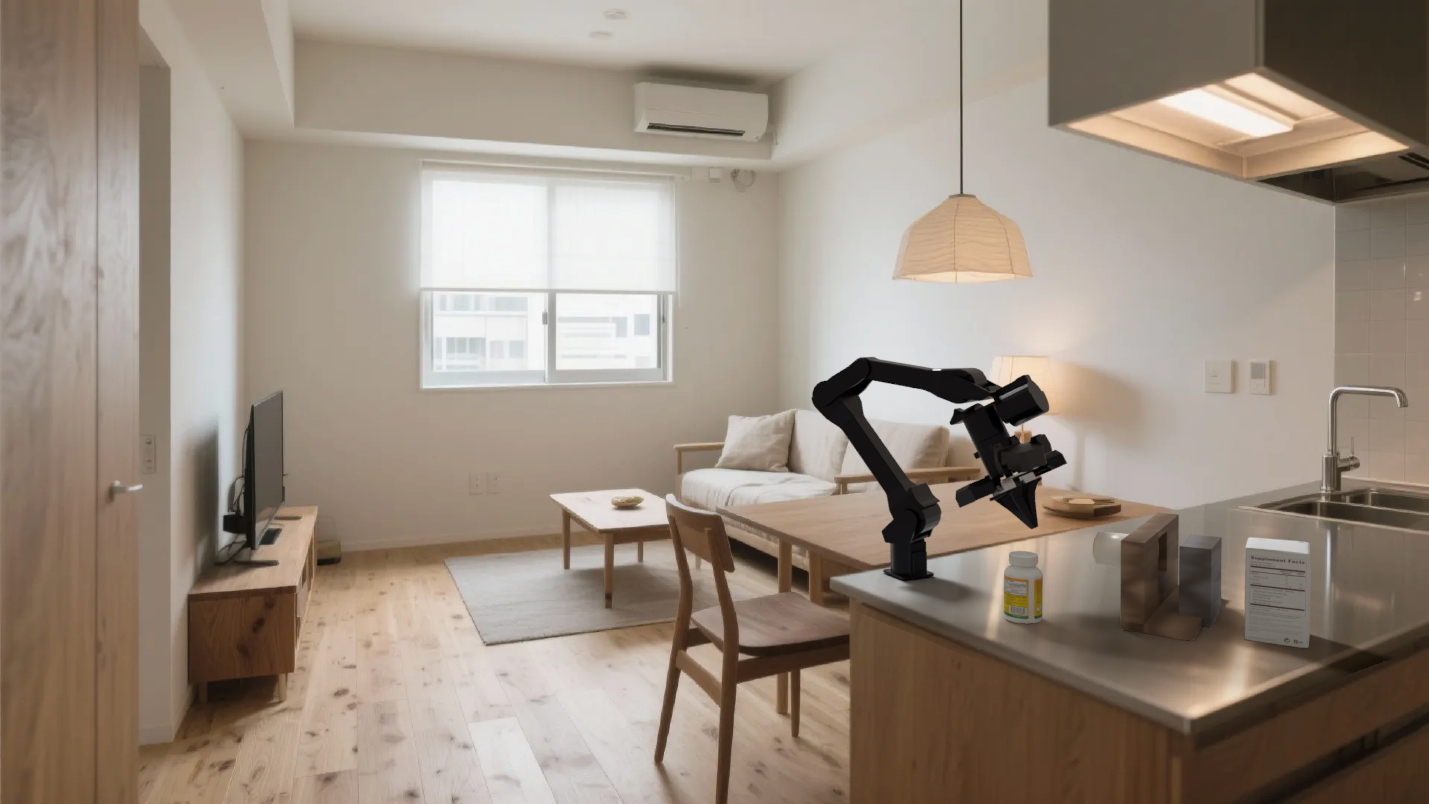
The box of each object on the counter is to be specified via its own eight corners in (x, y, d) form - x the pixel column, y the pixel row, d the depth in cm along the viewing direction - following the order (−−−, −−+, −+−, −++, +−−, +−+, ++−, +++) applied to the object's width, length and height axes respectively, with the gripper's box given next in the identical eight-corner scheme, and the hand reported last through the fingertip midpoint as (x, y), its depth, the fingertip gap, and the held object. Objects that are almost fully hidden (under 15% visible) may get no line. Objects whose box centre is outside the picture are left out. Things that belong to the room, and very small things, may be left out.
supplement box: (1246, 625, 126) (1247, 536, 126) (1310, 633, 122) (1311, 541, 121) (1242, 640, 120) (1243, 546, 120) (1309, 649, 116) (1310, 552, 115)
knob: (1091, 566, 137) (1091, 534, 136) (1100, 560, 141) (1100, 528, 140) (1151, 574, 132) (1151, 540, 131) (1158, 566, 136) (1158, 534, 135)
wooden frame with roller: (1117, 628, 126) (1117, 540, 125) (1154, 589, 145) (1155, 512, 144) (1201, 642, 120) (1201, 549, 119) (1228, 599, 139) (1229, 518, 138)
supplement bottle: (1013, 625, 129) (1012, 559, 128) (997, 614, 134) (997, 550, 133) (1049, 623, 129) (1049, 557, 129) (1032, 612, 135) (1032, 549, 134)
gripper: (970, 441, 137) (1017, 537, 133) (1064, 406, 143) (1111, 497, 139) (935, 461, 147) (978, 551, 143) (1024, 427, 153) (1067, 513, 150)
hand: (1034, 528), depth 144 cm, fingers closed
